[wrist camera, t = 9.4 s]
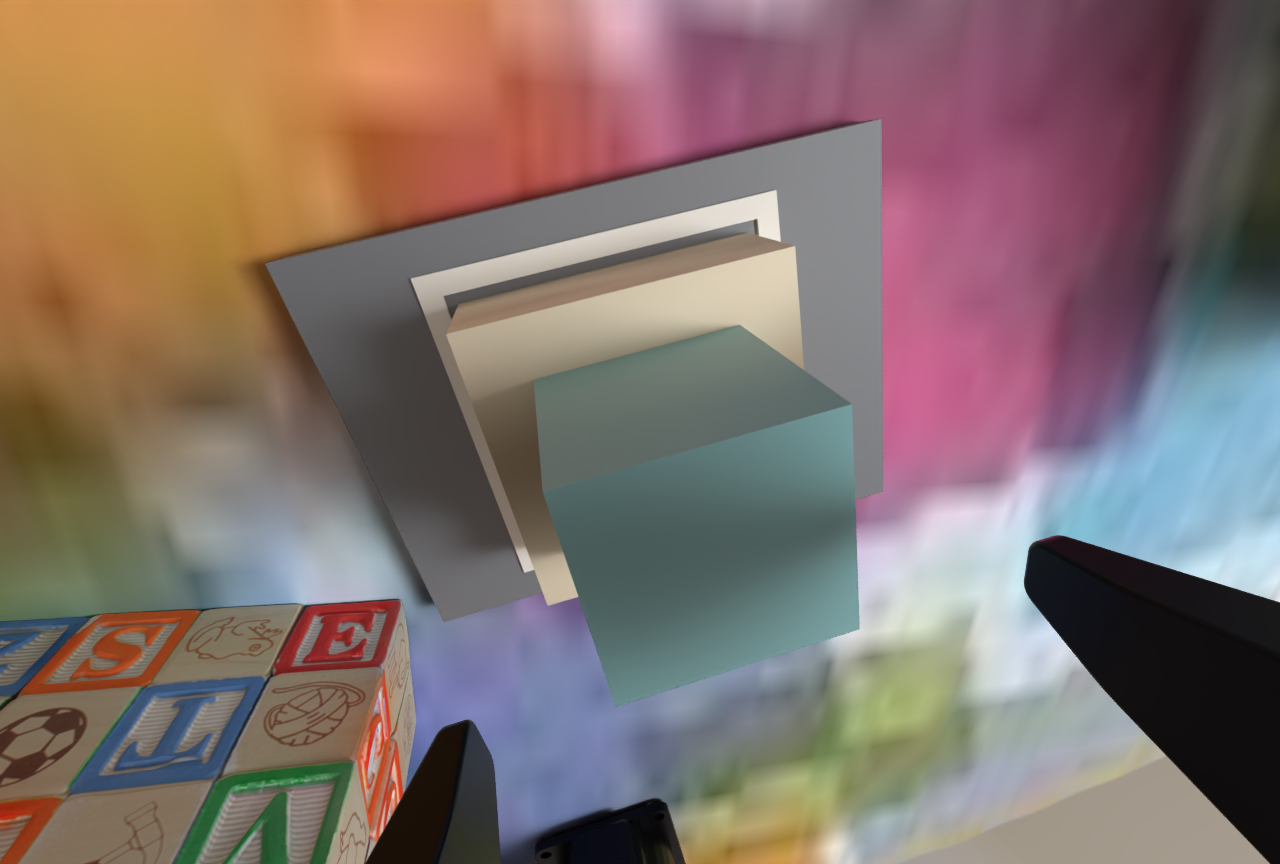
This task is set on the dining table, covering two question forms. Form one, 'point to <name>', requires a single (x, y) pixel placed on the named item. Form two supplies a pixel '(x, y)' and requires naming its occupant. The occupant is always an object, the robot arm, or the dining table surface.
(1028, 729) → the dining table surface
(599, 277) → the maple slab
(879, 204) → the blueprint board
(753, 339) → the teal cube
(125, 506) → the dining table surface
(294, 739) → the stack of blocks
